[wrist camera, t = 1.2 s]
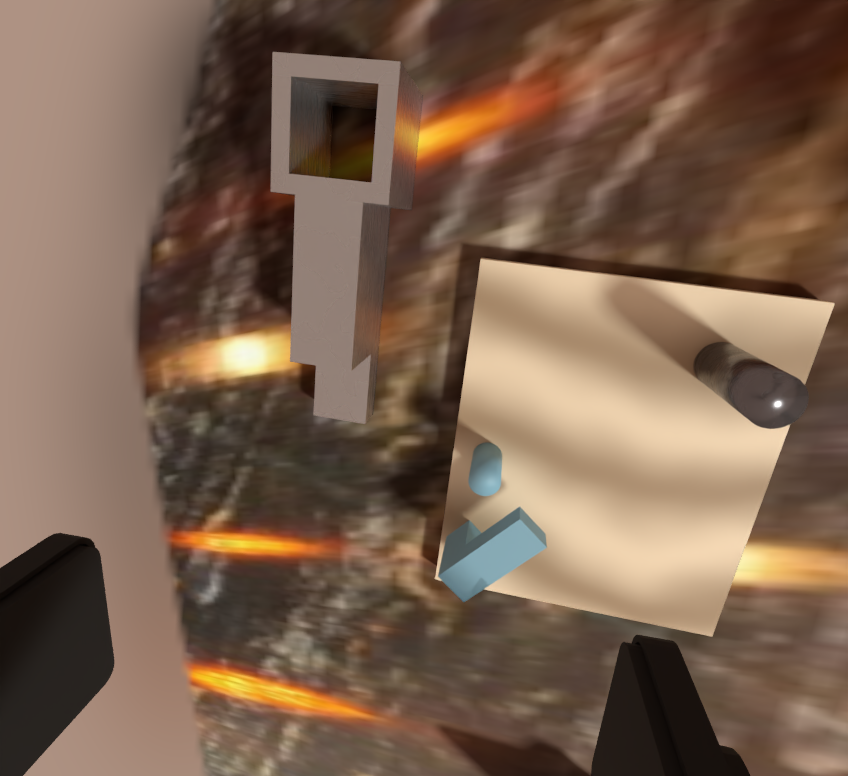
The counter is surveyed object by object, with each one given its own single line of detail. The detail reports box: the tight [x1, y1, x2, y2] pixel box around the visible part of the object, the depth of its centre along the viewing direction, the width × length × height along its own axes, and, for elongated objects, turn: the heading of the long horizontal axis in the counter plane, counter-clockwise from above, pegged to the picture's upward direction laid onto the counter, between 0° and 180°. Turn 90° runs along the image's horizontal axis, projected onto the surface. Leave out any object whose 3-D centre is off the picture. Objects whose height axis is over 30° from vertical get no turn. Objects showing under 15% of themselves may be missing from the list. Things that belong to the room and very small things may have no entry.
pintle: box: [693, 342, 808, 429], centre depth 22 cm, size 2×2×6 cm
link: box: [271, 52, 423, 424], centre depth 25 cm, size 17×5×5 cm, turn 174°
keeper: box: [438, 442, 547, 602], centre depth 27 cm, size 6×5×5 cm
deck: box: [435, 258, 835, 636], centre depth 27 cm, size 19×16×1 cm
